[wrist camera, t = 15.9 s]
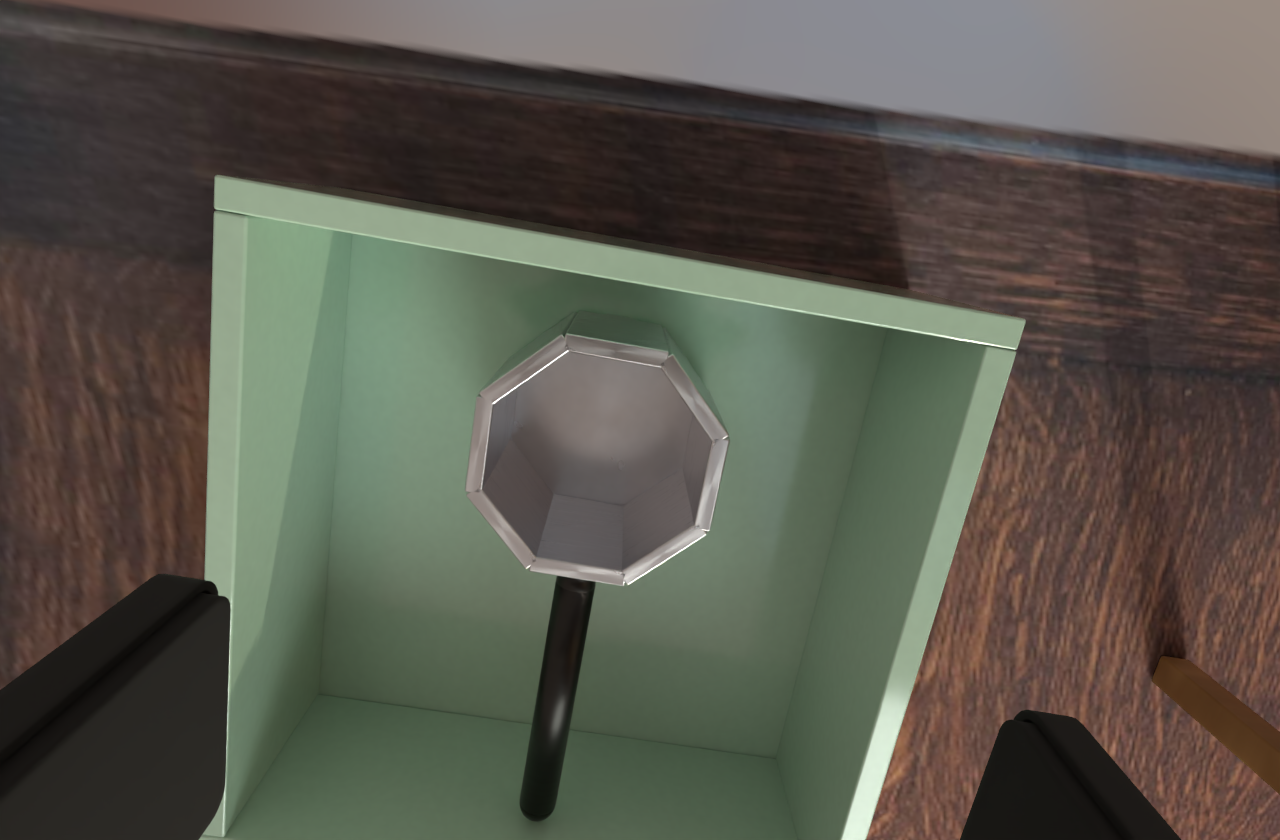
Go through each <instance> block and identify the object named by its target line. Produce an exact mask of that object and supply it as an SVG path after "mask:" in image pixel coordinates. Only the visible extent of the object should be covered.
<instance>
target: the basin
mask: <svg viewBox="0 0 1280 840" xmlns="http://www.w3.org/2000/svg"><path fill="white" fill-rule="evenodd" d="M214 208H215V209H216V210H217V211H215V212H214V226H213V265H212V304H211V343H210V382H209V421H208V460H207V499H206V538H205V577H204V580H206V581H211V582H213V583H214V584H215V585H216V587H217V590H218V595H219V596H225V597H227V598H228V599H229V602H230V609H231V613H230V646H229V679H228V712H227V745H226V778H225V790H224V794H223V798H222V801H221V803H220V806H219V809H218V811H217V813H216V815H215V817H214V818H213V820H212V821H211V823H210V824H209V826H208V827H207V829H206V830H205V831H204V833H203V834H202V836H201V837H200V839H199V840H866V838H867V835H868V832H869V828H870V825H871V822H872V819H873V815H874V812H875V809H876V806H877V802H878V799H879V796H880V793H881V789H882V786H883V783H884V780H885V777H886V773H887V770H888V767H889V764H890V760H891V757H892V754H893V751H894V747H895V744H896V741H897V738H898V734H899V731H900V728H901V725H902V721H903V718H904V715H905V712H906V708H907V705H908V702H909V699H910V695H911V692H912V689H913V686H914V682H915V679H916V676H917V673H918V670H919V666H920V663H921V660H922V657H923V653H924V650H925V647H926V644H927V640H928V637H929V634H930V631H931V627H932V624H933V621H934V618H935V614H936V611H937V608H938V605H939V601H940V598H941V595H942V592H943V588H944V585H945V582H946V579H947V575H948V572H949V569H950V566H951V563H952V559H953V556H954V553H955V550H956V546H957V543H958V540H959V537H960V533H961V530H962V527H963V524H964V520H965V517H966V514H967V511H968V507H969V504H970V501H971V498H972V494H973V491H974V488H975V485H976V481H977V478H978V475H979V472H980V468H981V465H982V462H983V459H984V456H985V452H986V449H987V446H988V443H989V439H990V436H991V433H992V430H993V426H994V423H995V420H996V417H997V413H998V410H999V407H1000V404H1001V400H1002V397H1003V394H1004V391H1005V387H1006V384H1007V381H1008V378H1009V374H1010V371H1011V368H1012V365H1013V361H1014V358H1015V355H1016V351H1014V350H1016V349H1017V348H1018V344H1019V341H1020V338H1021V335H1022V332H1023V328H1024V325H1025V319H1023V318H1020V317H1016V316H1012V315H1008V314H1004V313H1000V312H996V311H992V310H988V309H984V308H980V307H977V306H973V305H969V304H965V303H961V302H957V301H953V300H949V299H945V298H941V297H937V296H933V295H929V294H925V293H921V292H917V291H913V290H909V289H903V288H898V287H892V286H887V285H881V284H875V283H870V282H864V281H859V280H853V279H848V278H842V277H836V276H831V275H825V274H820V273H814V272H808V271H803V270H797V269H792V268H786V267H781V266H775V265H769V264H764V263H758V262H753V261H747V260H741V259H736V258H730V257H725V256H719V255H714V254H708V253H702V252H697V251H691V250H686V249H680V248H675V247H669V246H663V245H658V244H652V243H647V242H641V241H635V240H630V239H624V238H619V237H613V236H608V235H602V234H596V233H591V232H585V231H580V230H574V229H568V228H563V227H557V226H552V225H546V224H541V223H535V222H529V221H524V220H518V219H513V218H507V217H501V216H496V215H490V214H485V213H479V212H474V211H468V210H462V209H457V208H451V207H446V206H440V205H434V204H429V203H423V202H418V201H412V200H407V199H401V198H395V197H390V196H384V195H379V194H373V193H367V192H362V191H356V190H351V189H345V188H338V187H328V186H319V185H310V184H301V183H291V182H282V181H273V180H263V179H254V178H245V177H236V176H226V175H216V176H215V180H214ZM580 310H581V311H586V312H592V313H598V314H610V315H619V316H624V317H628V318H632V319H635V320H638V321H642V322H648V323H654V324H659V325H662V328H663V327H665V328H666V329H667V331H668V332H669V334H670V335H671V337H672V338H673V340H674V341H675V343H676V344H677V345H678V347H679V348H680V350H681V351H682V352H683V354H684V355H685V356H686V357H687V359H688V361H689V362H690V364H691V366H692V367H693V369H694V370H695V372H696V373H697V374H698V376H699V377H700V379H701V380H702V382H703V383H704V385H705V386H706V388H707V389H708V390H709V392H710V394H711V396H712V398H713V400H714V403H715V405H716V407H717V409H718V411H719V414H720V416H721V418H722V420H723V422H724V425H725V427H726V429H727V431H728V433H729V436H728V437H729V439H730V443H729V447H728V452H727V456H726V461H725V465H724V470H723V475H722V479H721V484H720V488H719V493H718V497H717V502H716V506H715V511H714V515H713V520H712V524H711V529H710V531H707V535H706V536H704V537H703V538H701V539H700V540H698V541H697V542H695V543H693V544H692V545H690V546H689V547H687V548H686V549H684V550H682V551H681V552H679V553H678V554H676V555H675V556H673V557H671V558H670V559H668V560H667V561H665V562H664V563H662V564H660V565H659V566H657V567H656V568H654V569H653V570H651V571H650V572H648V573H646V574H645V575H643V576H642V577H640V578H639V579H637V580H635V581H634V582H632V583H631V584H629V585H627V584H626V583H625V585H624V586H619V585H613V584H606V583H600V582H596V586H595V591H594V597H593V602H592V608H591V613H590V619H589V624H588V630H587V635H586V641H585V646H584V652H583V657H582V663H581V668H580V674H579V680H578V685H577V691H576V696H575V702H574V707H573V713H572V718H571V724H570V729H569V735H568V740H567V746H566V751H565V757H564V762H563V768H562V773H561V779H560V784H559V790H558V796H557V801H556V806H555V809H554V811H553V812H552V814H551V815H550V816H549V817H548V818H547V819H545V820H543V821H539V822H534V821H531V820H529V819H527V818H526V817H525V816H524V815H523V813H522V812H521V809H520V804H519V802H520V794H521V788H522V781H523V775H524V769H525V763H526V757H527V751H528V745H529V739H530V733H531V727H532V721H533V715H534V709H535V703H536V697H537V691H538V685H539V679H540V673H541V667H542V661H543V655H544V649H545V642H546V636H547V630H548V624H549V618H550V612H551V606H552V600H553V594H554V588H555V582H556V577H557V576H556V575H549V574H543V573H537V572H530V571H529V568H527V569H525V568H524V567H523V565H522V564H521V563H520V562H519V560H518V559H517V558H516V557H515V556H514V554H513V553H512V552H511V551H510V549H509V548H508V547H507V546H506V544H505V543H504V542H503V541H502V539H501V538H500V537H499V536H498V535H497V533H496V532H495V531H494V530H493V528H492V527H491V526H490V525H489V523H488V522H487V521H486V520H485V518H484V517H483V516H482V515H481V513H480V512H479V511H478V510H477V509H476V507H475V506H474V505H473V504H472V502H471V501H470V500H469V499H468V497H467V496H466V494H467V492H466V491H465V482H466V474H467V466H468V458H469V450H470V442H471V434H472V426H473V418H474V410H475V402H476V397H477V395H478V394H479V392H480V390H481V389H482V388H483V387H484V386H485V385H486V384H487V382H488V381H489V380H490V379H491V378H492V377H493V376H494V375H495V373H496V372H497V371H498V370H499V369H500V368H501V367H502V365H503V364H504V363H505V362H506V361H507V360H508V359H509V358H510V357H511V356H512V355H514V354H515V353H517V352H518V351H519V350H521V349H522V348H524V347H525V346H527V345H528V344H529V343H531V342H532V341H534V340H535V339H536V338H537V337H539V336H540V335H541V334H542V333H544V332H545V331H547V330H548V329H550V328H552V327H553V326H555V325H556V324H558V323H559V322H560V321H562V320H563V319H565V318H566V317H567V316H569V315H570V314H572V313H573V312H575V311H576V312H577V313H578V311H580Z"/></svg>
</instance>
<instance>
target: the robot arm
mask: <svg viewBox="0 0 1280 840" xmlns="http://www.w3.org/2000/svg"><path fill="white" fill-rule="evenodd" d="M230 613H231V609H230V602H229V599H228V598H227V597H225V596H219V595H218V590H217V587H216V585H215V584H214V583H213V582H211V581H206V580H200V579H194V578H187V577H181V576H175V575H168V574H158V575H156V576H154V577H152V578H151V579H149V580H148V581H147V582H145V583H144V584H142V585H141V586H140V587H138V588H137V589H136V590H134V591H133V592H132V593H130V594H129V595H128V596H126V597H125V598H124V599H122V600H121V601H120V602H118V603H117V604H116V605H114V606H113V607H112V608H110V609H109V610H108V611H106V612H105V613H103V614H102V615H101V616H99V617H98V618H97V619H95V620H94V621H93V622H91V623H90V624H89V625H87V626H86V627H85V628H83V629H82V630H81V631H79V632H78V633H77V634H75V635H74V636H73V637H71V638H70V639H69V640H67V641H66V642H64V643H63V644H62V645H60V646H59V647H58V648H56V649H55V650H54V651H52V652H51V653H50V654H48V655H47V656H46V657H44V658H43V659H42V660H40V661H39V662H38V663H36V664H35V665H34V666H32V667H31V668H30V669H28V670H27V671H25V672H24V673H23V674H21V675H20V676H19V677H17V678H16V679H15V680H13V681H12V682H11V683H9V684H8V685H7V686H5V687H4V688H3V689H1V690H0V840H199V839H200V837H201V836H202V834H203V833H204V831H205V830H206V829H207V827H208V826H209V824H210V823H211V821H212V820H213V818H214V817H215V815H216V813H217V811H218V809H219V806H220V803H221V801H222V798H223V794H224V790H225V778H226V745H227V712H228V679H229V646H230ZM960 840H1181V839H1180V838H1179V836H1178V835H1177V834H1176V833H1175V832H1174V831H1173V829H1172V828H1171V827H1170V826H1169V825H1168V824H1167V822H1166V821H1165V820H1164V819H1163V818H1162V817H1161V815H1160V814H1159V813H1158V812H1157V811H1156V810H1155V808H1154V807H1153V806H1152V805H1151V804H1150V803H1149V801H1148V800H1147V799H1146V798H1145V797H1144V796H1143V794H1142V793H1141V792H1140V791H1139V790H1138V789H1137V787H1136V786H1135V785H1134V784H1133V783H1132V782H1131V780H1130V779H1129V778H1128V777H1127V776H1126V775H1125V773H1124V772H1123V771H1122V770H1121V769H1120V768H1119V766H1118V765H1117V764H1116V763H1115V762H1114V761H1113V759H1112V758H1111V757H1110V756H1109V755H1108V754H1107V752H1106V751H1105V750H1104V749H1103V748H1102V746H1101V745H1100V744H1099V743H1098V742H1097V741H1096V739H1095V738H1094V737H1093V736H1092V735H1091V734H1090V732H1089V731H1088V730H1087V729H1086V728H1085V727H1084V725H1083V724H1082V723H1080V722H1079V721H1078V720H1077V719H1076V718H1072V717H1069V716H1063V715H1057V714H1051V713H1044V712H1038V711H1031V710H1024V711H1021V712H1020V713H1018V714H1017V715H1016V716H1015V718H1014V720H1007V721H1006V722H1004V723H1003V724H1002V726H1001V728H1000V730H999V733H998V736H997V738H996V741H995V744H994V747H993V750H992V752H991V755H990V758H989V761H988V763H987V766H986V769H985V772H984V775H983V777H982V780H981V783H980V786H979V788H978V791H977V794H976V797H975V800H974V802H973V805H972V808H971V811H970V813H969V816H968V819H967V822H966V825H965V827H964V830H963V833H962V836H961V838H960Z"/></svg>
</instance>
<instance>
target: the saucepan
mask: <svg viewBox="0 0 1280 840" xmlns="http://www.w3.org/2000/svg"><path fill="white" fill-rule="evenodd" d="M728 436H729V433H728V431H727V429H726V427H725V425H724V422H723V420H722V418H721V416H720V414H719V411H718V409H717V407H716V405H715V403H714V400H713V398H712V396H711V394H710V392H709V390H708V389H707V388H706V386H705V385H704V383H703V382H702V380H701V379H700V377H699V376H698V374H697V373H696V372H695V370H694V369H693V367H692V366H691V364H690V362H689V361H688V359H687V357H686V356H685V355H684V354H683V352H682V351H681V350H680V348H679V347H678V345H677V344H676V343H675V341H674V340H673V338H672V337H671V335H670V334H669V332H668V331H667V329H666V328H665V327H663V328H662V325H659V324H654V323H648V322H642V321H638V320H635V319H632V318H628V317H624V316H619V315H610V314H598V313H592V312H586V311H581V310H580V311H578V313H577V312H576V311H575V312H573V313H572V314H570V315H569V316H567V317H566V318H565V319H563V320H562V321H560V322H559V323H558V324H556V325H555V326H553V327H552V328H550V329H548V330H547V331H545V332H544V333H542V334H541V335H540V336H539V337H537V338H536V339H535V340H534V341H532V342H531V343H529V344H528V345H527V346H525V347H524V348H522V349H521V350H519V351H518V352H517V353H515V354H514V355H512V356H511V357H510V358H509V359H508V360H507V361H506V362H505V363H504V364H503V365H502V367H501V368H500V369H499V370H498V371H497V372H496V373H495V375H494V376H493V377H492V378H491V379H490V380H489V381H488V382H487V384H486V385H485V386H484V387H483V388H482V389H481V390H480V392H479V394H478V395H477V397H476V402H475V410H474V418H473V426H472V434H471V442H470V450H469V458H468V466H467V474H466V482H465V491H466V492H467V494H466V496H467V497H468V499H469V500H470V501H471V502H472V504H473V505H474V506H475V507H476V509H477V510H478V511H479V512H480V513H481V515H482V516H483V517H484V518H485V520H486V521H487V522H488V523H489V525H490V526H491V527H492V528H493V530H494V531H495V532H496V533H497V535H498V536H499V537H500V538H501V539H502V541H503V542H504V543H505V544H506V546H507V547H508V548H509V549H510V551H511V552H512V553H513V554H514V556H515V557H516V558H517V559H518V560H519V562H520V563H521V564H522V565H523V567H524V568H525V569H527V568H529V571H530V572H537V573H543V574H549V575H556V576H557V577H556V582H555V588H554V594H553V600H552V606H551V612H550V618H549V624H548V630H547V636H546V642H545V649H544V655H543V661H542V667H541V673H540V679H539V685H538V691H537V697H536V703H535V709H534V715H533V721H532V727H531V733H530V739H529V745H528V751H527V757H526V763H525V769H524V775H523V781H522V788H521V794H520V802H519V804H520V809H521V812H522V813H523V815H524V816H525V817H526V818H527V819H529V820H531V821H534V822H539V821H543V820H545V819H547V818H548V817H549V816H550V815H551V814H552V812H553V811H554V809H555V806H556V801H557V796H558V790H559V784H560V779H561V773H562V768H563V762H564V757H565V751H566V746H567V740H568V735H569V729H570V724H571V718H572V713H573V707H574V702H575V696H576V691H577V685H578V680H579V674H580V668H581V663H582V657H583V652H584V646H585V641H586V635H587V630H588V624H589V619H590V613H591V608H592V602H593V597H594V591H595V586H596V582H600V583H606V584H613V585H619V586H624V585H625V583H626V584H627V585H629V584H631V583H632V582H634V581H635V580H637V579H639V578H640V577H642V576H643V575H645V574H646V573H648V572H650V571H651V570H653V569H654V568H656V567H657V566H659V565H660V564H662V563H664V562H665V561H667V560H668V559H670V558H671V557H673V556H675V555H676V554H678V553H679V552H681V551H682V550H684V549H686V548H687V547H689V546H690V545H692V544H693V543H695V542H697V541H698V540H700V539H701V538H703V537H704V536H706V535H707V531H710V529H711V524H712V520H713V515H714V511H715V506H716V502H717V497H718V493H719V488H720V484H721V479H722V475H723V470H724V465H725V461H726V456H727V452H728V447H729V443H730V439H729V437H728Z"/></svg>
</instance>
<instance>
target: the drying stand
mask: <svg viewBox="0 0 1280 840" xmlns="http://www.w3.org/2000/svg"><path fill="white" fill-rule="evenodd" d="M1152 682H1153V683H1155V684H1156V685H1157V686H1158V687H1159V688H1160V689H1161V690H1162V691H1164V692H1165V693H1166V694H1167V695H1168V696H1169V697H1170V698H1171V699H1173V700H1174V701H1175V702H1176V703H1177V704H1178V705H1179V706H1180V707H1182V708H1183V709H1184V710H1185V711H1186V712H1187V713H1188V714H1189V715H1191V716H1192V717H1193V718H1194V719H1195V720H1196V721H1197V722H1199V723H1200V724H1201V725H1202V726H1203V727H1204V728H1205V729H1206V730H1208V731H1209V732H1210V733H1211V734H1212V735H1213V736H1214V737H1215V738H1217V739H1218V740H1219V741H1220V742H1221V743H1222V744H1223V745H1224V746H1226V747H1227V748H1228V749H1229V750H1230V751H1231V752H1232V753H1233V754H1235V755H1236V756H1237V757H1238V758H1239V759H1240V760H1241V761H1242V762H1244V763H1245V764H1246V765H1247V766H1248V767H1249V768H1250V769H1251V770H1253V771H1254V772H1255V773H1256V774H1257V775H1258V776H1259V777H1260V778H1262V779H1263V780H1264V781H1265V782H1266V783H1267V784H1268V785H1270V786H1271V787H1272V788H1273V789H1274V790H1275V791H1276V792H1277V793H1279V794H1280V732H1279V731H1278V730H1277V729H1275V728H1274V727H1273V726H1272V725H1270V724H1269V723H1268V722H1266V721H1265V720H1264V719H1263V718H1261V717H1260V716H1259V715H1258V714H1256V713H1255V712H1254V711H1253V710H1251V709H1250V708H1249V707H1248V706H1246V705H1245V704H1244V703H1242V702H1241V701H1240V700H1239V699H1237V698H1236V697H1235V696H1234V695H1232V694H1231V693H1230V692H1229V691H1227V690H1226V689H1225V688H1223V687H1222V686H1221V685H1220V684H1218V683H1217V682H1216V681H1215V680H1213V679H1212V678H1211V677H1210V676H1208V675H1207V674H1206V673H1205V672H1203V671H1202V670H1201V669H1199V668H1198V667H1197V666H1196V665H1194V664H1193V663H1192V662H1191V661H1189V660H1186V659H1179V658H1173V657H1166V656H1161V658H1160V660H1159V663H1158V665H1157V668H1156V670H1155V673H1154V675H1153V678H1152Z"/></svg>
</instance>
